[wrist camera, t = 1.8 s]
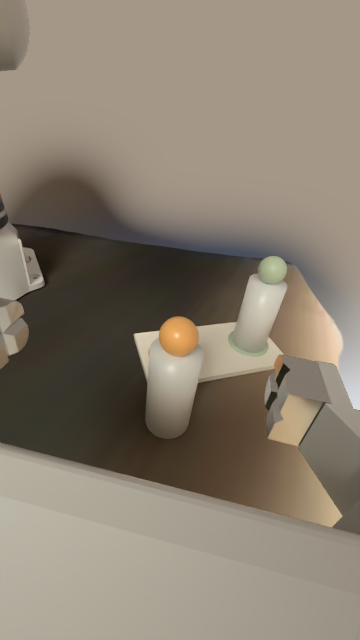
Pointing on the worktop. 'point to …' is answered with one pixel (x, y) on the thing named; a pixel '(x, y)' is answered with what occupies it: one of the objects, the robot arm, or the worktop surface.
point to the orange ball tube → (172, 378)
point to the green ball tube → (260, 305)
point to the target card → (217, 353)
